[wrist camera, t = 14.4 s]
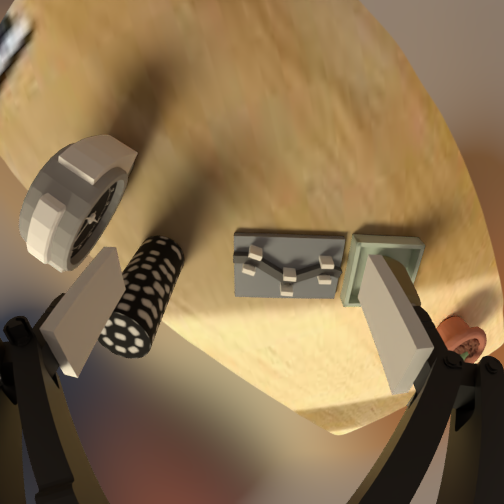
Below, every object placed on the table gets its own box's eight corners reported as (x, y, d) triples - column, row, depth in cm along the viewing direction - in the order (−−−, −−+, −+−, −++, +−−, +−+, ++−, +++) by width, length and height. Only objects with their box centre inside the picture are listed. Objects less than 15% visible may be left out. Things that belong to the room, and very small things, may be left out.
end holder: (352, 233, 49) (357, 242, 46) (418, 237, 48) (425, 245, 46) (340, 296, 55) (343, 306, 52) (400, 296, 55) (405, 305, 52)
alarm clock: (109, 234, 50) (50, 304, 33) (74, 210, 48) (5, 269, 30) (153, 149, 43) (86, 190, 25) (111, 123, 41) (28, 150, 23)
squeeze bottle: (397, 243, 49) (443, 308, 33) (401, 279, 52) (440, 346, 37) (355, 257, 50) (388, 329, 35) (362, 292, 54) (391, 365, 38)
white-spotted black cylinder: (187, 242, 51) (152, 323, 33) (180, 281, 55) (149, 365, 37) (142, 230, 50) (89, 302, 32) (138, 269, 54) (93, 346, 36)
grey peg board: (234, 232, 49) (232, 244, 46) (343, 236, 49) (349, 247, 45) (235, 292, 55) (233, 306, 52) (333, 294, 55) (337, 308, 51)
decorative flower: (481, 302, 56) (541, 395, 29) (462, 343, 62) (506, 433, 36) (433, 308, 56) (492, 420, 30) (416, 351, 63) (456, 455, 37)
